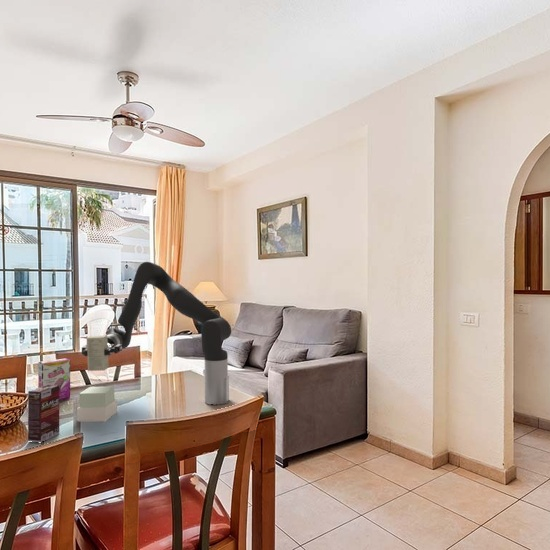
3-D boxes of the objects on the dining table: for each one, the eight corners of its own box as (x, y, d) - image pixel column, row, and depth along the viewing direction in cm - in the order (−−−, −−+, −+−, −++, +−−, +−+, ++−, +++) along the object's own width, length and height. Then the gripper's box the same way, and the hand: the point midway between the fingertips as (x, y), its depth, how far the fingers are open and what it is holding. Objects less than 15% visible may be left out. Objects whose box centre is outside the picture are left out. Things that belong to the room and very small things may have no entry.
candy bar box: (42, 404, 168) (41, 363, 168) (38, 401, 172) (37, 361, 172) (71, 398, 176) (70, 359, 176) (66, 395, 180) (66, 357, 180)
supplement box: (41, 444, 129) (40, 392, 128) (27, 442, 130) (26, 391, 129) (60, 433, 137) (60, 384, 137) (47, 432, 138) (47, 384, 138)
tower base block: (117, 412, 158) (116, 399, 158) (105, 422, 148) (105, 408, 148) (90, 412, 158) (90, 399, 158) (77, 422, 148) (77, 408, 148)
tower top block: (114, 399, 158) (114, 386, 158) (105, 407, 149) (105, 393, 149) (90, 400, 157) (90, 386, 157) (79, 407, 148) (79, 393, 148)
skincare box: (108, 368, 155) (108, 335, 155) (104, 370, 151) (103, 337, 151) (91, 368, 155) (91, 335, 155) (86, 371, 151) (86, 337, 151)
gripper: (89, 335, 166) (74, 343, 150) (126, 334, 168) (116, 341, 151) (89, 354, 166) (74, 364, 150) (127, 353, 168) (116, 362, 152)
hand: (95, 352), depth 151 cm, fingers closed on skincare box, 6 cm apart
